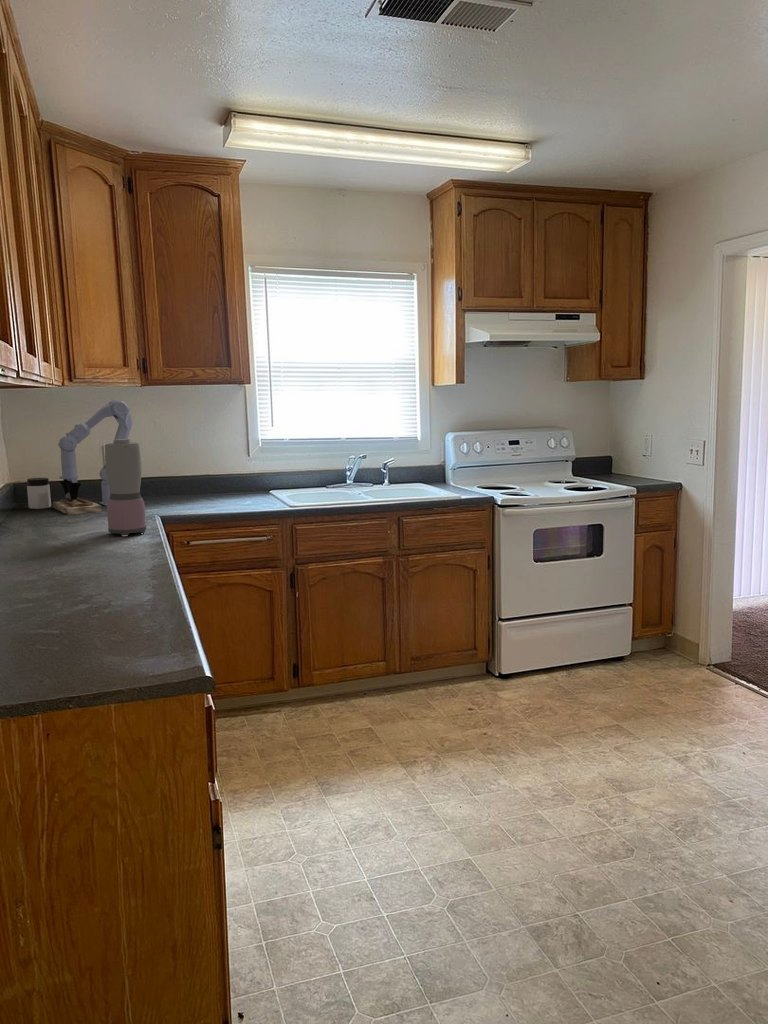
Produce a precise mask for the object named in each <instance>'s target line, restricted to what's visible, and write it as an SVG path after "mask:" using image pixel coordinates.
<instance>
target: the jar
mask: <svg viewBox="0 0 768 1024" xmlns="http://www.w3.org/2000/svg"><path fill="white" fill-rule="evenodd" d="M49 480H50V479H49V478H48V477H33V478H32V477H30V478H28V479H26V483H27V484H26V485H27V486H26V491H27V492H26V493H27V500H28V502H27V504H28V509H34V510H40V509H49V508H51V507H52V502H51V501H52V500H51V499H52V498H51V488H50V482H49Z"/></svg>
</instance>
